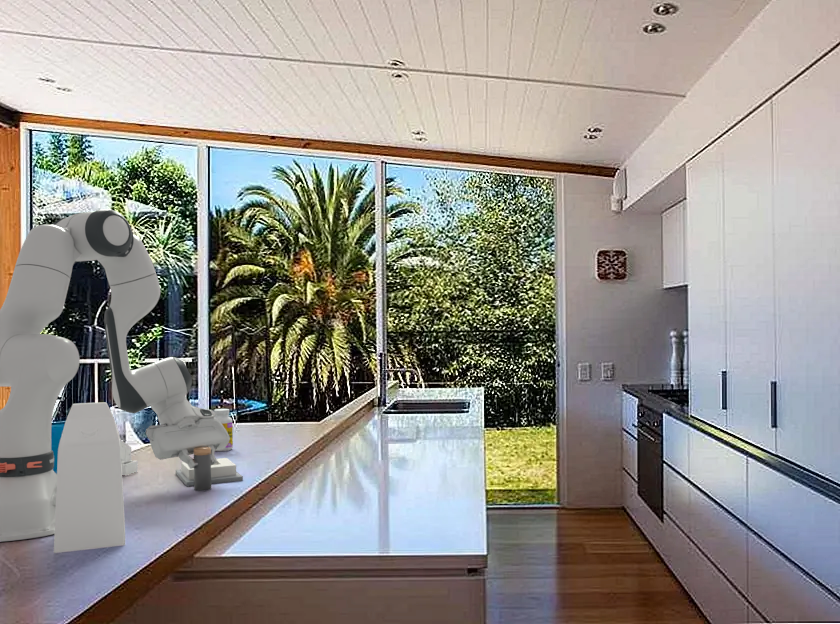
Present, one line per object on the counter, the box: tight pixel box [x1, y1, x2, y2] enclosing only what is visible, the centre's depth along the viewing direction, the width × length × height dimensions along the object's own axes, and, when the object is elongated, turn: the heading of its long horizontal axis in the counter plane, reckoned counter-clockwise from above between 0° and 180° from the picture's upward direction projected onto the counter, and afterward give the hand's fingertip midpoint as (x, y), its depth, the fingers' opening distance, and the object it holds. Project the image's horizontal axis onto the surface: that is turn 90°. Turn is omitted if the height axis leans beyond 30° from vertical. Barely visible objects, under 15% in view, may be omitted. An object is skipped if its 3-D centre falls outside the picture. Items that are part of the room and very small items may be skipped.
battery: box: [193, 447, 212, 491], centre depth 189 cm, size 4×4×10 cm
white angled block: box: [120, 439, 139, 476], centre depth 209 cm, size 4×10×9 cm, turn 168°
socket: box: [175, 457, 244, 487], centre depth 204 cm, size 18×14×4 cm
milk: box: [53, 401, 126, 554], centre depth 146 cm, size 12×12×26 cm
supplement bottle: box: [213, 408, 234, 452], centre depth 246 cm, size 7×7×13 cm
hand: (204, 465), depth 189 cm, fingers closed on battery, 4 cm apart
